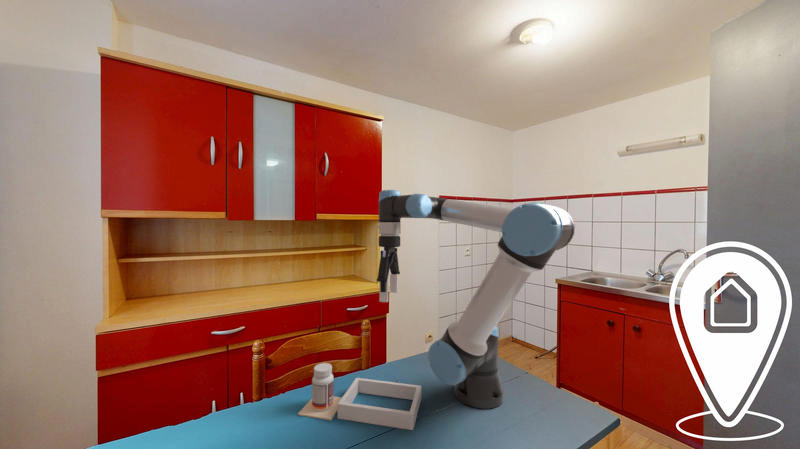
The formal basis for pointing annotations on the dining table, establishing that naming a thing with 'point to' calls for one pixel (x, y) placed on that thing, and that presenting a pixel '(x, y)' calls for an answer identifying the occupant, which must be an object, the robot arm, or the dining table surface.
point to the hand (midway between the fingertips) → (389, 296)
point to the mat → (325, 414)
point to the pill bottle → (322, 387)
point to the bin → (380, 414)
